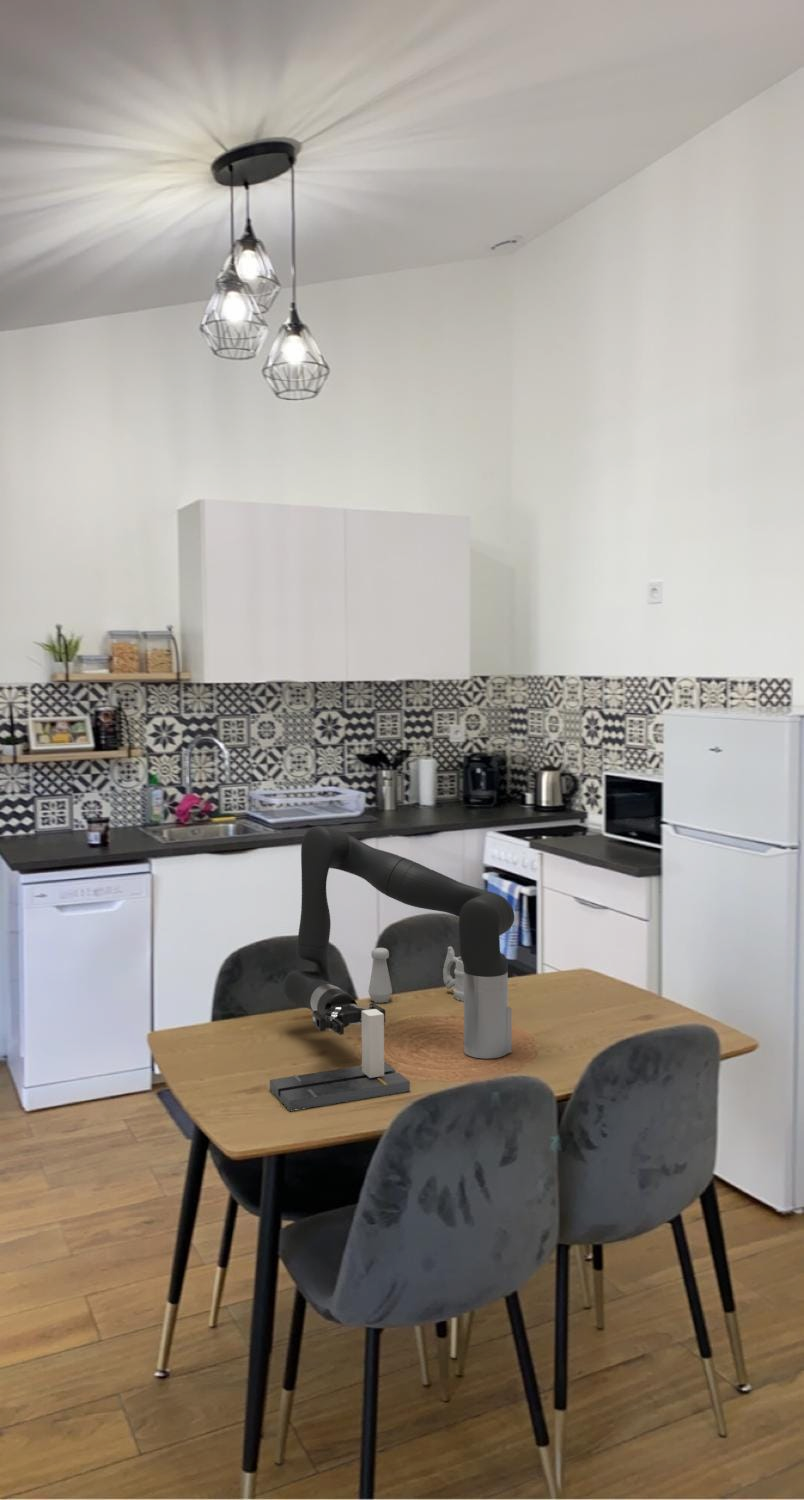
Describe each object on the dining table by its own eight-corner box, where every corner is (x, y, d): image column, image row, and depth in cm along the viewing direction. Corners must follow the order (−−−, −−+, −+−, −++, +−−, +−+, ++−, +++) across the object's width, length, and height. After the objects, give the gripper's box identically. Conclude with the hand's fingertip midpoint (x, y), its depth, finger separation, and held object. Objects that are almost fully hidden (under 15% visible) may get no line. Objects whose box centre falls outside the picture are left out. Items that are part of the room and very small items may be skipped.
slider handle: (376, 1074, 217) (375, 1008, 217) (384, 1081, 214) (383, 1014, 213) (362, 1077, 216) (361, 1010, 215) (369, 1083, 212) (369, 1016, 212)
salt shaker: (389, 1004, 270) (388, 952, 269) (366, 1003, 271) (365, 951, 270) (394, 998, 275) (393, 946, 275) (371, 997, 277) (371, 945, 276)
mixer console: (384, 1071, 223) (384, 1060, 222) (409, 1091, 212) (409, 1080, 211) (269, 1090, 213) (269, 1078, 213) (289, 1111, 202) (289, 1099, 202)
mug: (471, 1004, 270) (471, 955, 269) (434, 995, 278) (433, 948, 277) (490, 997, 276) (490, 949, 275) (453, 989, 283) (453, 942, 283)
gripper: (300, 992, 231) (328, 1012, 216) (364, 984, 237) (395, 1003, 222) (301, 1027, 231) (328, 1050, 217) (364, 1018, 237) (395, 1040, 223)
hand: (362, 1026), depth 219 cm, fingers open, 8 cm apart
